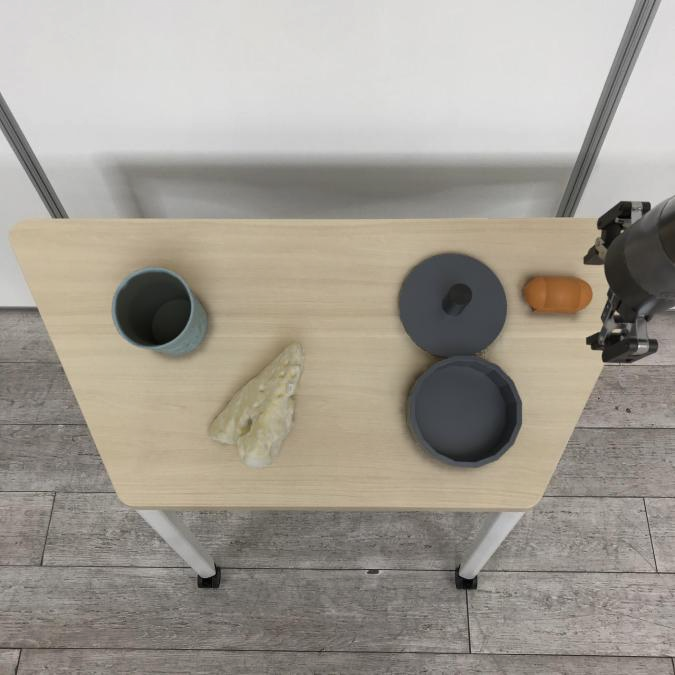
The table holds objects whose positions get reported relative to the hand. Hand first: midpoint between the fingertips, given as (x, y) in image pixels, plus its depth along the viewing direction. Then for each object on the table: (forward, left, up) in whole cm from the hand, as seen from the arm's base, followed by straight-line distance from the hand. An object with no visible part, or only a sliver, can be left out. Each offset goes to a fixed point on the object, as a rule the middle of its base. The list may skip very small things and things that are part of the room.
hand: (593, 301), depth 63 cm
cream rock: (+36, +10, -22) cm, 43 cm away
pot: (+10, +11, -21) cm, 26 cm away
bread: (-3, -6, -21) cm, 22 cm away
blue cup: (+49, 0, -22) cm, 54 cm away
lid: (+11, -4, -21) cm, 24 cm away
